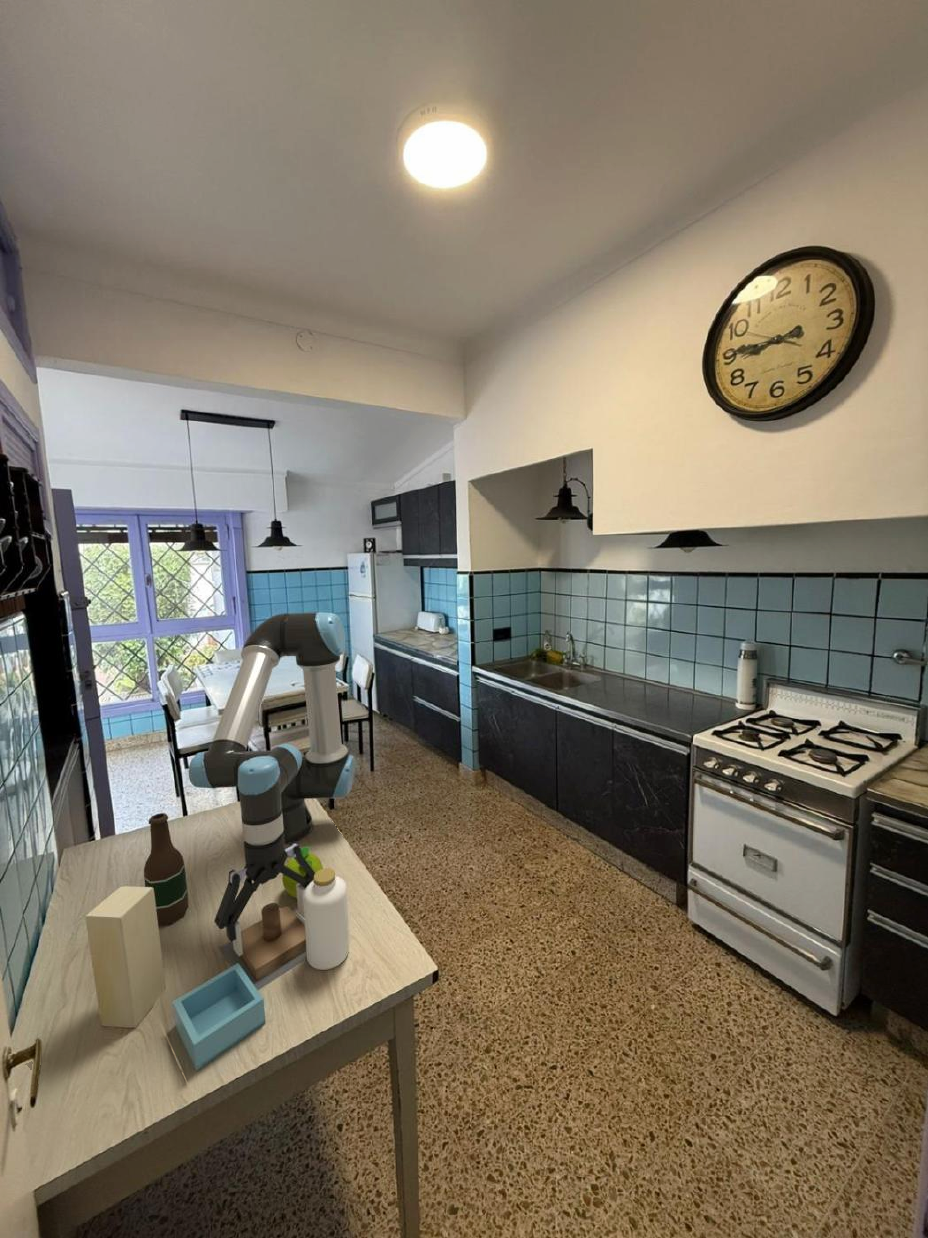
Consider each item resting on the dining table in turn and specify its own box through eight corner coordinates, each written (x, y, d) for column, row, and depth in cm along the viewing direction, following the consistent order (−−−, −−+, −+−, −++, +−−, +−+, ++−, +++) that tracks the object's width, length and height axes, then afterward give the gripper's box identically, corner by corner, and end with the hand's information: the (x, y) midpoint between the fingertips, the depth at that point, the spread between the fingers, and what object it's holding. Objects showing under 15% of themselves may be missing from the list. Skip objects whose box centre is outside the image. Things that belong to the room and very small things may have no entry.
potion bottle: (357, 955, 100) (354, 875, 97) (320, 981, 94) (316, 896, 91) (335, 932, 106) (332, 855, 103) (299, 955, 100) (294, 875, 97)
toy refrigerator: (131, 986, 94) (117, 885, 91) (167, 989, 93) (154, 886, 90) (96, 1026, 86) (80, 916, 83) (135, 1029, 85) (120, 918, 83)
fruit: (323, 877, 124) (321, 840, 123) (325, 902, 115) (322, 862, 114) (284, 886, 122) (281, 848, 120) (283, 912, 113) (279, 871, 111)
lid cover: (287, 916, 111) (284, 881, 110) (314, 945, 102) (311, 907, 101) (232, 947, 102) (228, 910, 101) (256, 981, 94) (253, 941, 93)
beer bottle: (171, 930, 108) (159, 827, 105) (141, 925, 110) (128, 824, 106) (197, 905, 116) (186, 808, 112) (168, 901, 117) (157, 806, 114)
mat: (292, 908, 114) (292, 907, 114) (328, 946, 103) (328, 944, 102) (218, 949, 102) (218, 948, 102) (250, 996, 91) (250, 994, 91)
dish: (240, 986, 93) (238, 963, 93) (265, 1024, 86) (263, 998, 85) (175, 1027, 86) (172, 1001, 85) (197, 1073, 78) (193, 1045, 77)
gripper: (311, 806, 111) (318, 893, 113) (189, 856, 93) (200, 958, 96) (329, 817, 105) (335, 909, 108) (203, 873, 88) (214, 981, 90)
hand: (272, 932), depth 102 cm, fingers open, 13 cm apart
